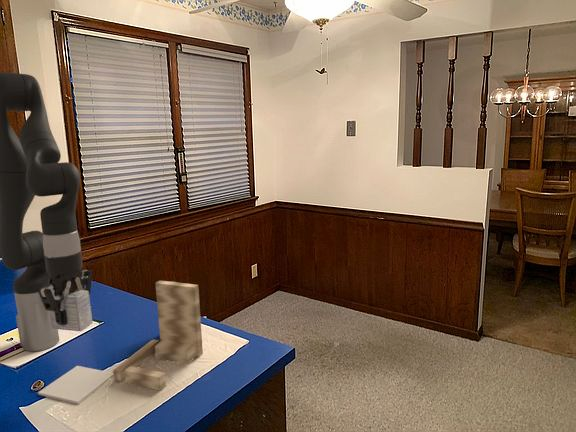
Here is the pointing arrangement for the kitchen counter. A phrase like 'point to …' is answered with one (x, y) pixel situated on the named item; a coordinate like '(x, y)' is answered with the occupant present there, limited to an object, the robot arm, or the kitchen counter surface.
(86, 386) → the grey mat
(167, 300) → the slotted stand
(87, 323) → the medicine box
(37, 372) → the kitchen counter surface
